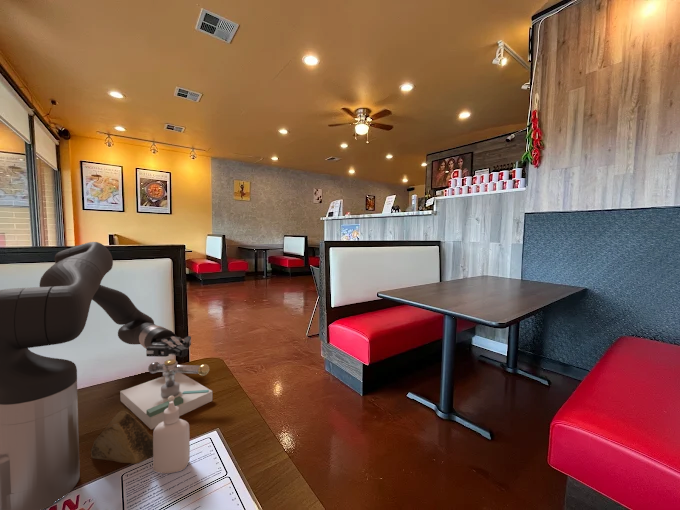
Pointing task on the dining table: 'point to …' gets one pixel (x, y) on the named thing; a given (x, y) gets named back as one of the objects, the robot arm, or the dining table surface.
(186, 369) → the crank handle
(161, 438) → the eye dropper bottle
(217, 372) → the dining table surface
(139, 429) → the rock
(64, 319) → the robot arm
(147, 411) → the stand
